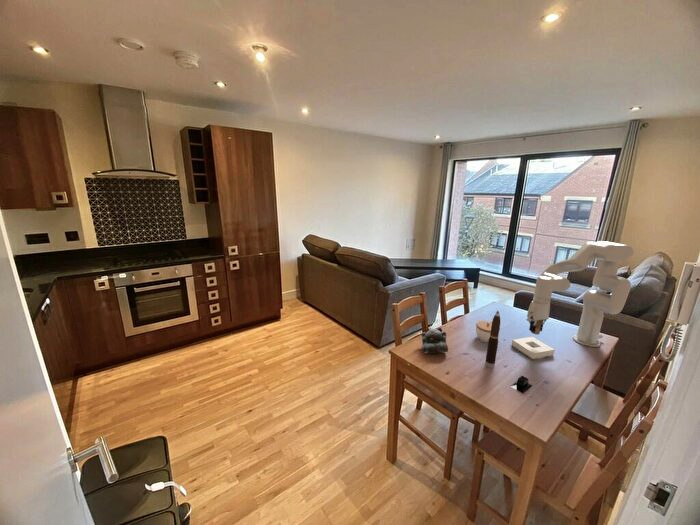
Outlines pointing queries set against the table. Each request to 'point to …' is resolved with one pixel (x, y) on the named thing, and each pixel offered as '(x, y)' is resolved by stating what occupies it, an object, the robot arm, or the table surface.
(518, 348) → the bore block
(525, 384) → the black blocky piece
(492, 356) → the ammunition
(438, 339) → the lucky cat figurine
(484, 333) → the lidded bowl
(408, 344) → the table surface
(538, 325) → the pin
